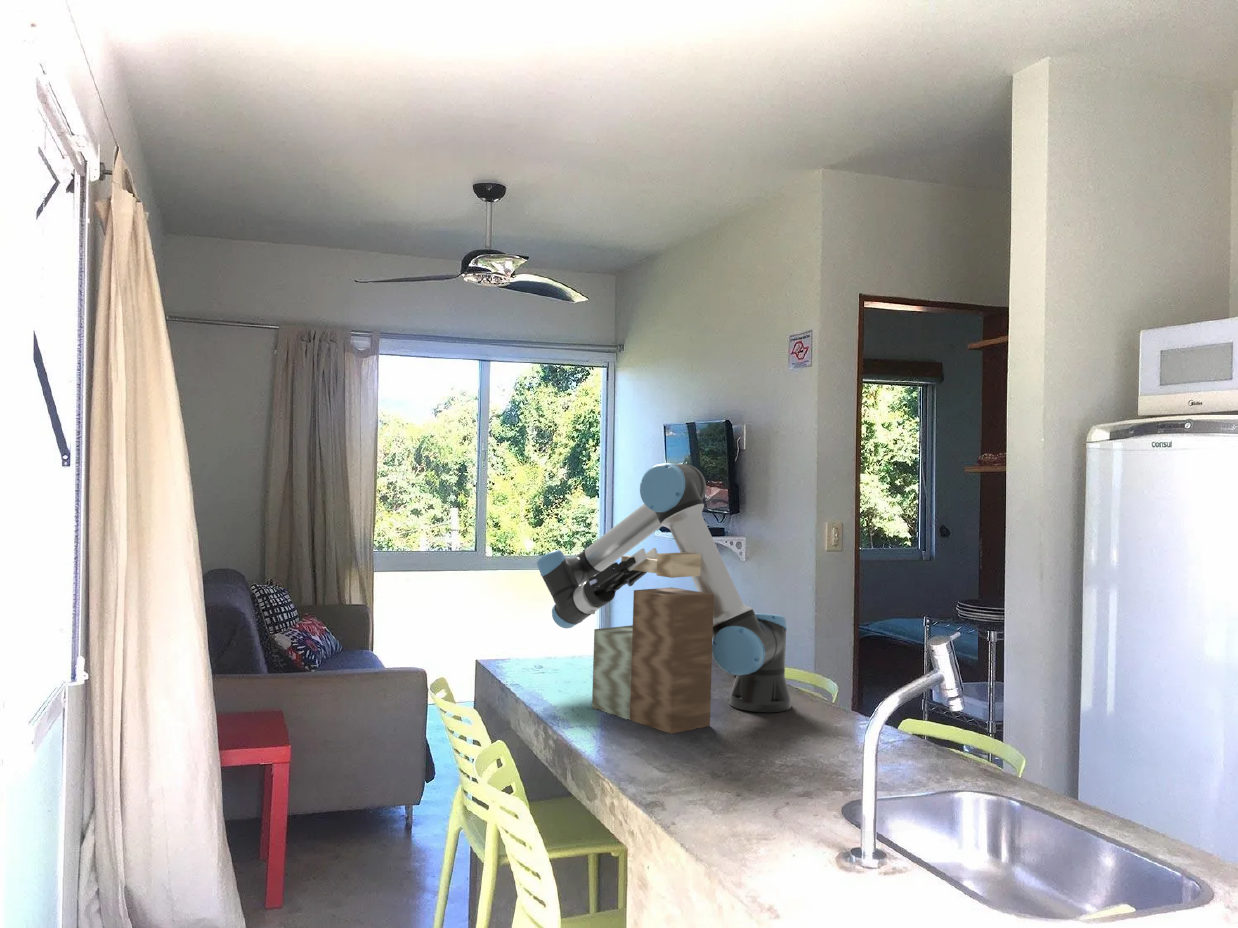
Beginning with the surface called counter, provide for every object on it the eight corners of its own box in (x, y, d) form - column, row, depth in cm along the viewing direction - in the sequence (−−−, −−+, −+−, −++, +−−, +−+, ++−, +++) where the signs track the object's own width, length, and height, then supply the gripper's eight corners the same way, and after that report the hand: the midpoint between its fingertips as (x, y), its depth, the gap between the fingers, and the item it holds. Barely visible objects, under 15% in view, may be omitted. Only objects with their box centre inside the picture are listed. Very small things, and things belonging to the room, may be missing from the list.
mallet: (611, 568, 240) (612, 547, 240) (639, 567, 245) (640, 546, 245) (671, 577, 224) (672, 555, 224) (700, 575, 229) (700, 553, 229)
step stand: (591, 707, 241) (595, 583, 242) (629, 701, 249) (633, 581, 249) (671, 733, 220) (675, 597, 220) (709, 725, 228) (713, 594, 228)
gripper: (623, 605, 255) (680, 566, 239) (573, 609, 245) (629, 569, 229) (615, 578, 258) (670, 538, 242) (565, 581, 248) (619, 539, 232)
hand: (650, 553), depth 236 cm, fingers closed on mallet, 3 cm apart
